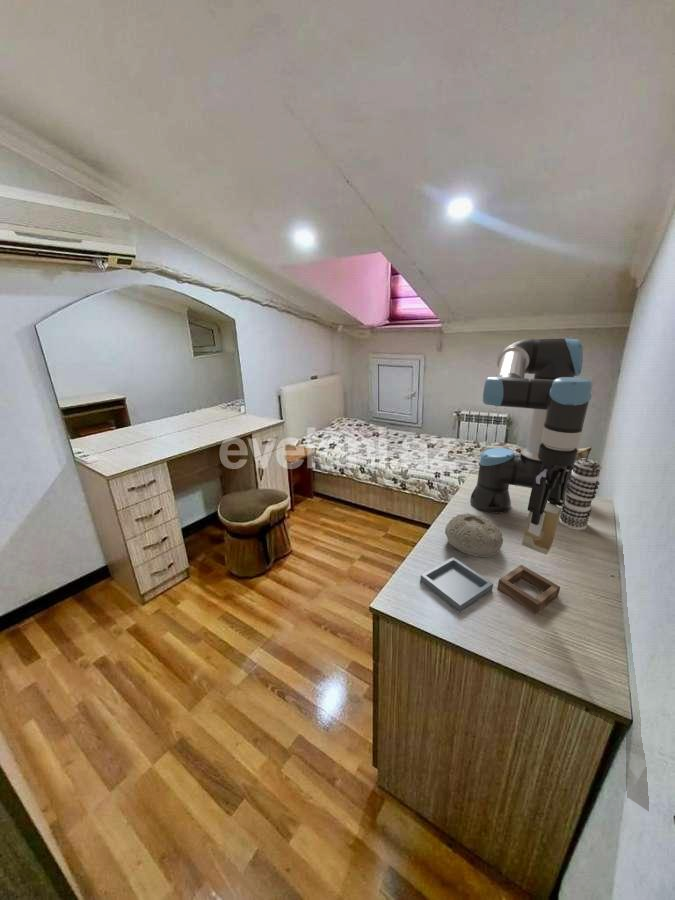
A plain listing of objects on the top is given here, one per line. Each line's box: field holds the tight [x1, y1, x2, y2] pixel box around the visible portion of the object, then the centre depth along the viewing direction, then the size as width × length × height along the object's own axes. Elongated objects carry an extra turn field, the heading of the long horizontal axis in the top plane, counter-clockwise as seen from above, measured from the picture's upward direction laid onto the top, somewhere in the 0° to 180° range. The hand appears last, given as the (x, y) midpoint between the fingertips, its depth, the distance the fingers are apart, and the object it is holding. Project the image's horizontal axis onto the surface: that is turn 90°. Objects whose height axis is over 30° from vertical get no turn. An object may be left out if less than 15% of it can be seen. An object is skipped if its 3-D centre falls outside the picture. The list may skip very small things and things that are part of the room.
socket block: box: [496, 564, 561, 616], centre depth 96 cm, size 11×11×4 cm
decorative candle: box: [559, 457, 603, 531], centre depth 124 cm, size 9×9×25 cm
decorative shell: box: [444, 512, 504, 558], centre depth 115 cm, size 18×18×10 cm
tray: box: [419, 556, 494, 613], centre depth 100 cm, size 14×14×2 cm
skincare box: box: [521, 502, 562, 556], centre depth 90 cm, size 6×4×12 cm
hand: (540, 529), depth 90 cm, fingers closed on skincare box, 5 cm apart
